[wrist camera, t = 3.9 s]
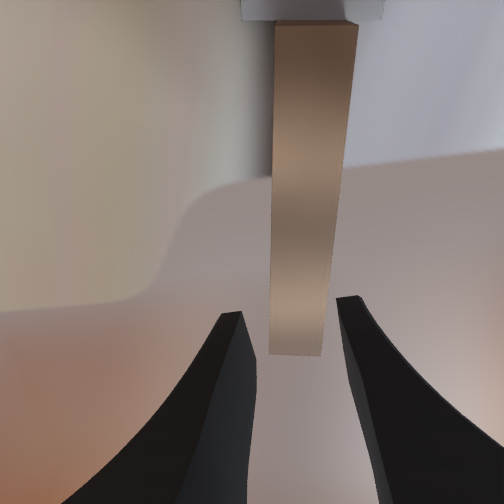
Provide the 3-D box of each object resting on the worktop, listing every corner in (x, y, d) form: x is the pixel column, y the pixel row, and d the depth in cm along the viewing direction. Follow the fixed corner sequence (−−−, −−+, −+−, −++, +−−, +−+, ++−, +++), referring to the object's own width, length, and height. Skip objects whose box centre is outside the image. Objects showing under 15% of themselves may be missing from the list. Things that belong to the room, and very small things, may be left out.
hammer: (337, 303, 23) (346, 357, 20) (248, 301, 23) (243, 353, 20) (399, -166, 13) (442, -223, 9) (241, -161, 13) (226, -215, 10)
